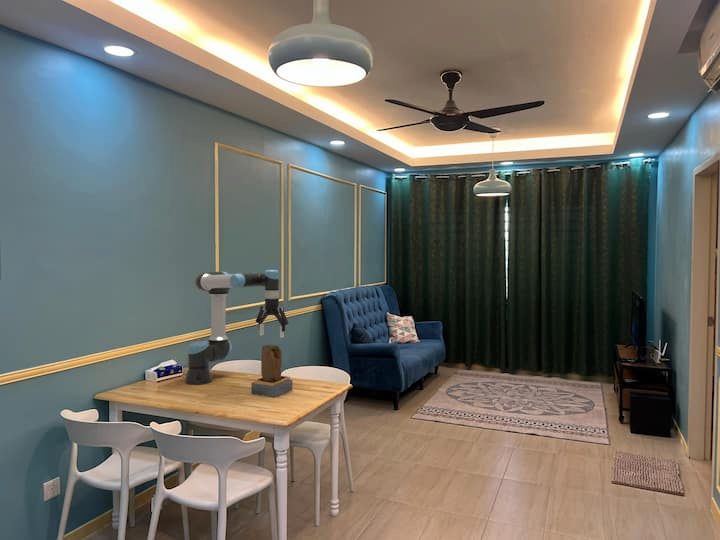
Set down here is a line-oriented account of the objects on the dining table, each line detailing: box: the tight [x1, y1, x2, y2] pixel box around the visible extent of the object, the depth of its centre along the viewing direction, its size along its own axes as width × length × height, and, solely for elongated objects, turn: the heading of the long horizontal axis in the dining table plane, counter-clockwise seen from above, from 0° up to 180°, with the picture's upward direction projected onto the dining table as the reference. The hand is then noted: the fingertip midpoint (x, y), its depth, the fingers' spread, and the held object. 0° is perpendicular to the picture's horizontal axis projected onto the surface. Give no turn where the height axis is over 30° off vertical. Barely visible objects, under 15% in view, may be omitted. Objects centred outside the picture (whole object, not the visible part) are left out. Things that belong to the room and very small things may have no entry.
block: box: [260, 344, 283, 383], centre depth 293 cm, size 11×8×20 cm
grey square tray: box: [250, 375, 293, 398], centre depth 293 cm, size 16×16×8 cm
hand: (271, 336), depth 293 cm, fingers open, 13 cm apart
